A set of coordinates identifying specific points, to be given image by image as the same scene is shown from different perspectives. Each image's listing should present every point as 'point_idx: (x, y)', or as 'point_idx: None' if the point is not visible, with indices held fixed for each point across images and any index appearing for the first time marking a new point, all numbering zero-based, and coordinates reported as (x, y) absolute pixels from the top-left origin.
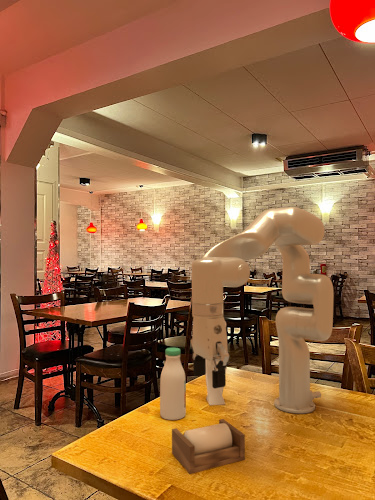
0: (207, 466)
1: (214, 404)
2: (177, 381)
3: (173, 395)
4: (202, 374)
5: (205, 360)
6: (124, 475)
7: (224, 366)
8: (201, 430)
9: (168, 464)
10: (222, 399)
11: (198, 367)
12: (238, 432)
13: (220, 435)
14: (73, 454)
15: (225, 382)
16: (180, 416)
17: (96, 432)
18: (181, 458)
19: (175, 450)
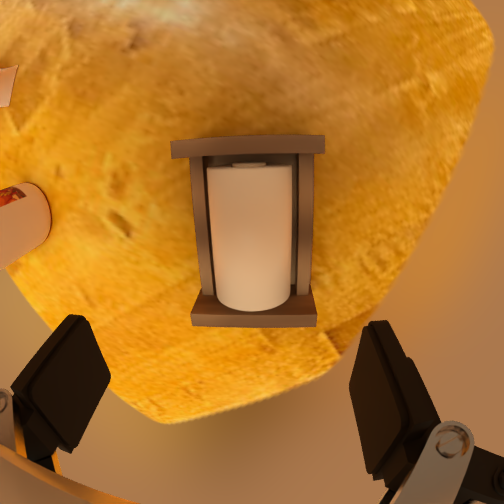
0: (311, 250)
1: (10, 92)
2: None
3: (10, 246)
4: (94, 341)
5: (27, 382)
6: (255, 383)
7: (483, 465)
8: (258, 274)
9: None
10: (7, 71)
11: (82, 398)
12: (300, 146)
13: (284, 210)
14: (161, 413)
15: (394, 334)
16: (45, 206)
17: None
18: None
19: None
